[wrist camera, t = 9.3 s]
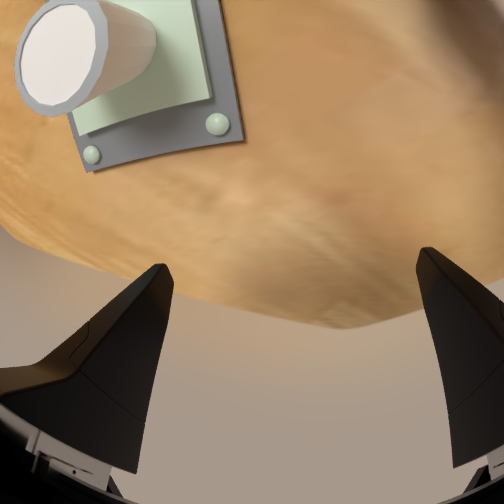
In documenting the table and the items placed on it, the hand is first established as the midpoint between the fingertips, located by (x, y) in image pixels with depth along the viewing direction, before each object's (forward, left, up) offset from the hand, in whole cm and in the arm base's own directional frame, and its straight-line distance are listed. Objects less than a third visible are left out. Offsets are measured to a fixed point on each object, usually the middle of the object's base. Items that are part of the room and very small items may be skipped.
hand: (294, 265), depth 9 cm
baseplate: (+10, -10, -13) cm, 19 cm away
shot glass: (+10, -10, -11) cm, 18 cm away
